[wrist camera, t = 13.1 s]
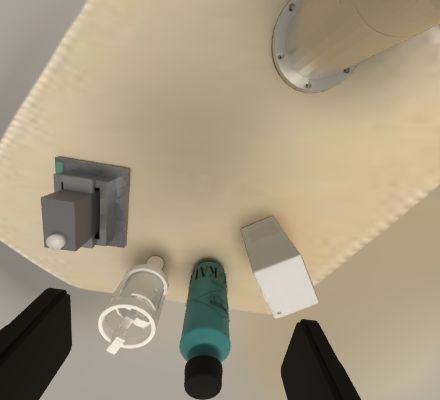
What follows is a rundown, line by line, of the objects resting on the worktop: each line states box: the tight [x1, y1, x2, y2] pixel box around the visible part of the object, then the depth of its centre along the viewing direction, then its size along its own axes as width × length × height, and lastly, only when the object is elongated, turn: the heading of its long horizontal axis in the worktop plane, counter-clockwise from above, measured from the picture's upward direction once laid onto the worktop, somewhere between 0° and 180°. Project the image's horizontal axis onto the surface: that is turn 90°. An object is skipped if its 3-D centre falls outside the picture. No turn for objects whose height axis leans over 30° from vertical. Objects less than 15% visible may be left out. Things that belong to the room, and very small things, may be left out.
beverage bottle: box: [180, 262, 230, 400], centre depth 32 cm, size 6×7×20 cm
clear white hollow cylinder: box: [98, 256, 169, 354], centre depth 33 cm, size 7×7×15 cm
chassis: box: [54, 157, 130, 248], centre depth 34 cm, size 14×11×4 cm
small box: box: [241, 216, 319, 319], centre depth 33 cm, size 8×6×13 cm
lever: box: [41, 175, 100, 251], centre depth 31 cm, size 11×4×9 cm, turn 170°
